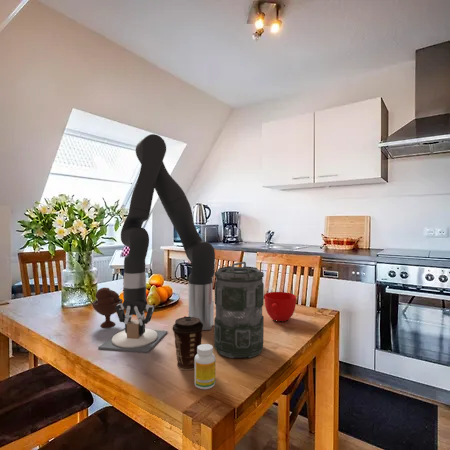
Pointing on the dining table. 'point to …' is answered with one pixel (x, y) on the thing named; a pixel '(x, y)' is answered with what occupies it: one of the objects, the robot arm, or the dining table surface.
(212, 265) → the robot arm
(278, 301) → the ceramic cup
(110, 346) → the mat
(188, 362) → the coffee cup
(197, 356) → the supplement bottle
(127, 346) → the lid
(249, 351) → the canister
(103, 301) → the ice cream bowl
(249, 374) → the dining table surface
